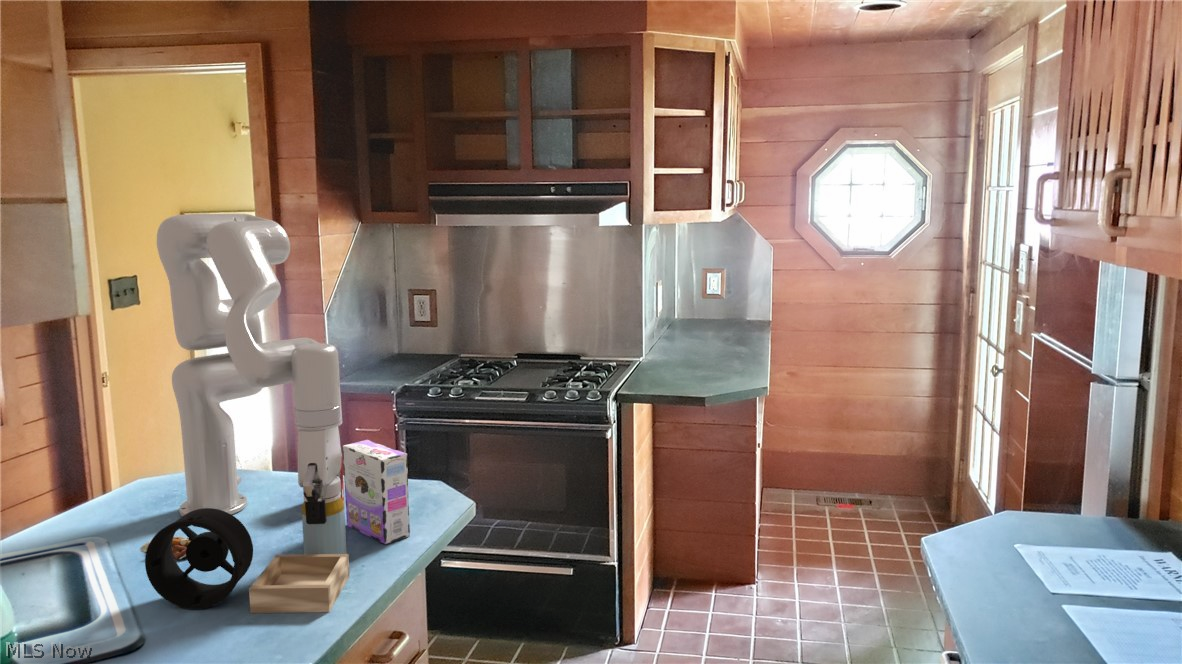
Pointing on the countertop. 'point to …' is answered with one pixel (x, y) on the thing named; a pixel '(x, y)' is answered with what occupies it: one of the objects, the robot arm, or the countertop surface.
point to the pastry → (174, 546)
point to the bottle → (327, 524)
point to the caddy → (299, 583)
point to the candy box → (376, 490)
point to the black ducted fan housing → (199, 558)
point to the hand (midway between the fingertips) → (325, 512)
